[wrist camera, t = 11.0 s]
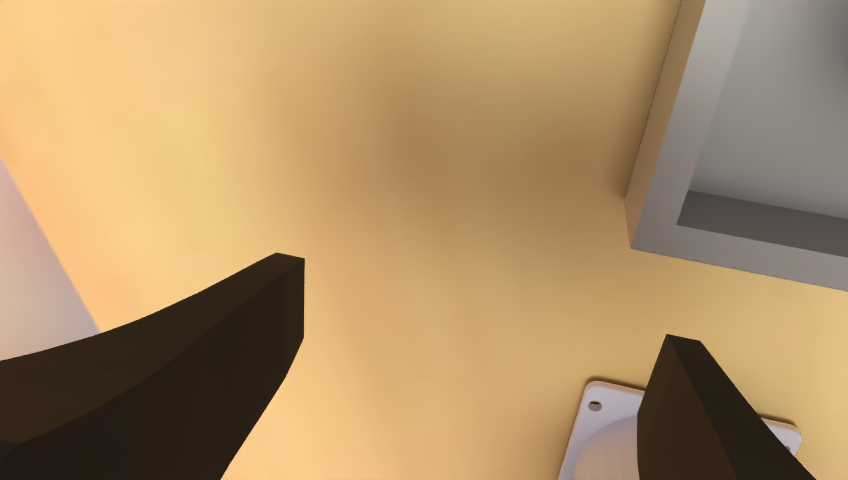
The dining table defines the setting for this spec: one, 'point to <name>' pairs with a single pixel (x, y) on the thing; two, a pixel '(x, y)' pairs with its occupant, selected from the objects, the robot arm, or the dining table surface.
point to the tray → (749, 142)
